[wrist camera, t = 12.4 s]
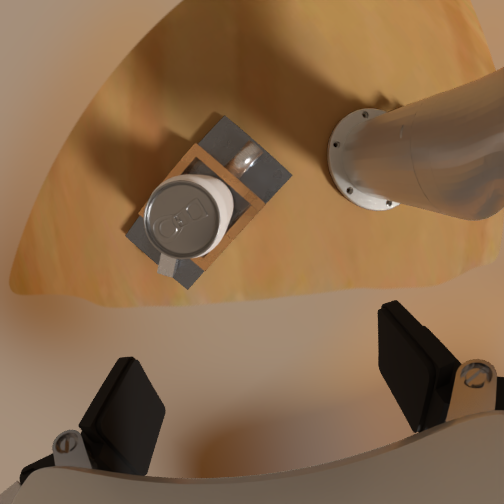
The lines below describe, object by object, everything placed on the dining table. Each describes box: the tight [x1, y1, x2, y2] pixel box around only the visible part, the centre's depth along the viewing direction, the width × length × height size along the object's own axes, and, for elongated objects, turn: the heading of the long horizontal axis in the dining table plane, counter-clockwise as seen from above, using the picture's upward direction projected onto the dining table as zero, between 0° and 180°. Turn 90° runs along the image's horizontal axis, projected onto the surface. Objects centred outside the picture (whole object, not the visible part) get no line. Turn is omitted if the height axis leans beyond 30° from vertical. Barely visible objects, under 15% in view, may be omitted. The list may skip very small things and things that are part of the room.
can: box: [143, 174, 234, 259], centre depth 25 cm, size 6×6×12 cm
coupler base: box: [126, 116, 292, 290], centre depth 30 cm, size 18×10×4 cm, turn 138°
